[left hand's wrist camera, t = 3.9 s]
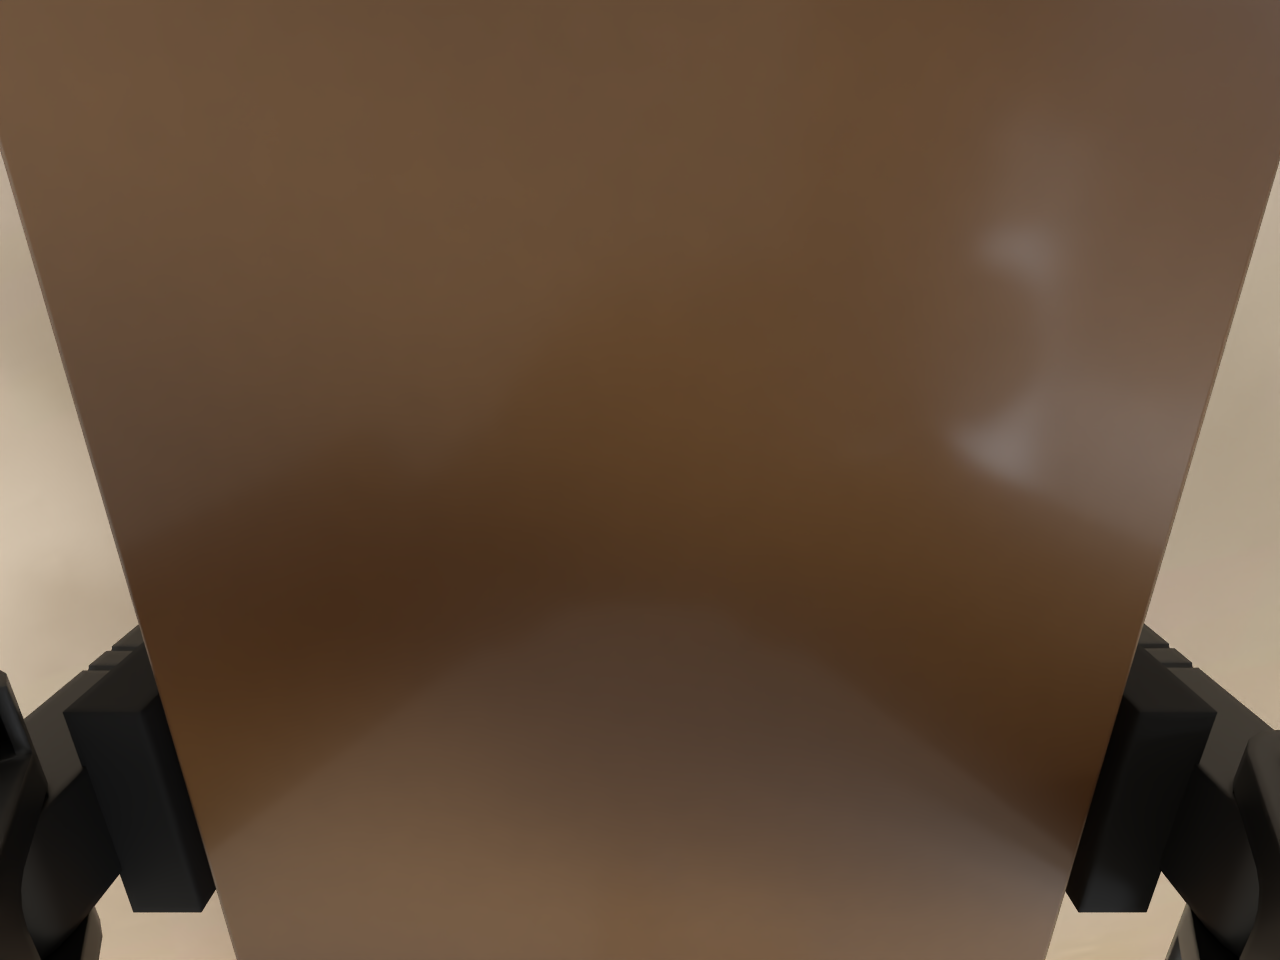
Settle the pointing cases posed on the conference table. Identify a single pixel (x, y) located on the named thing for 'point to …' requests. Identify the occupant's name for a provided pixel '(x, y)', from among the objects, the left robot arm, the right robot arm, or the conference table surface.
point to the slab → (641, 441)
